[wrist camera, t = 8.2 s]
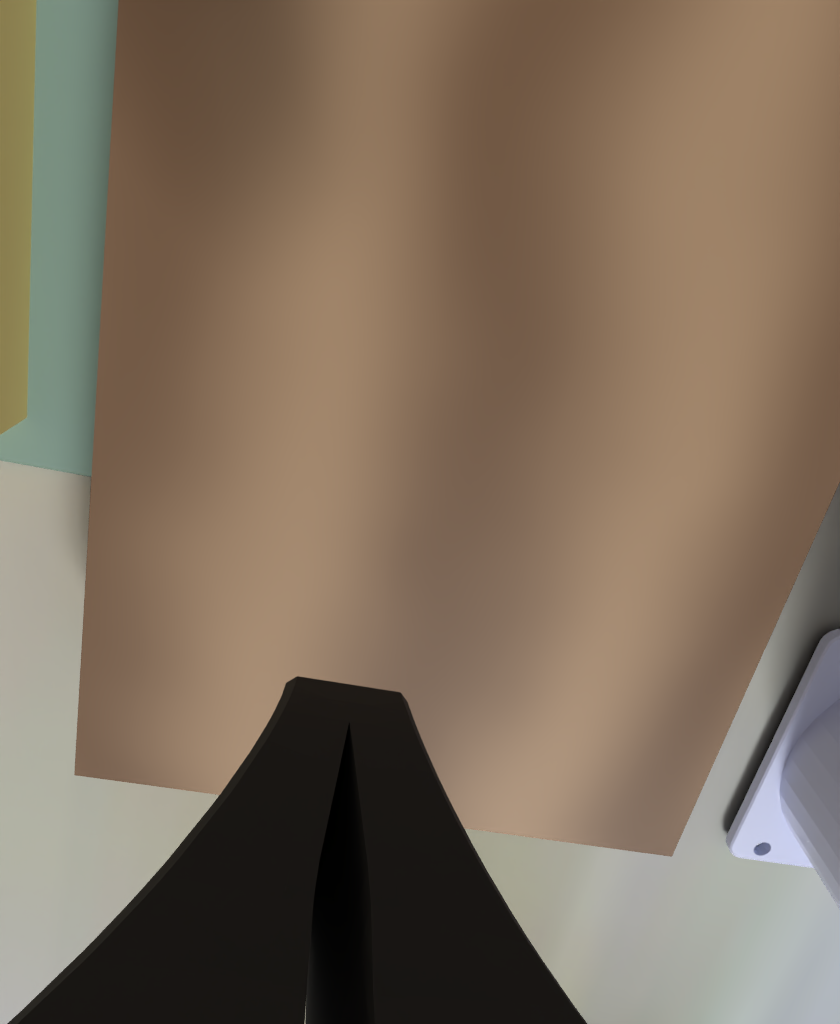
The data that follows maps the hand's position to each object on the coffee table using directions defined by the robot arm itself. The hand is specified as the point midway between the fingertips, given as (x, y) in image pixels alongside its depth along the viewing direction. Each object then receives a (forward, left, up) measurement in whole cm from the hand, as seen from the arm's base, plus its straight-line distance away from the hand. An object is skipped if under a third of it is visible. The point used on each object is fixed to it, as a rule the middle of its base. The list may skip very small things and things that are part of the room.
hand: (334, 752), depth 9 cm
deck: (-2, -3, -10) cm, 11 cm away
